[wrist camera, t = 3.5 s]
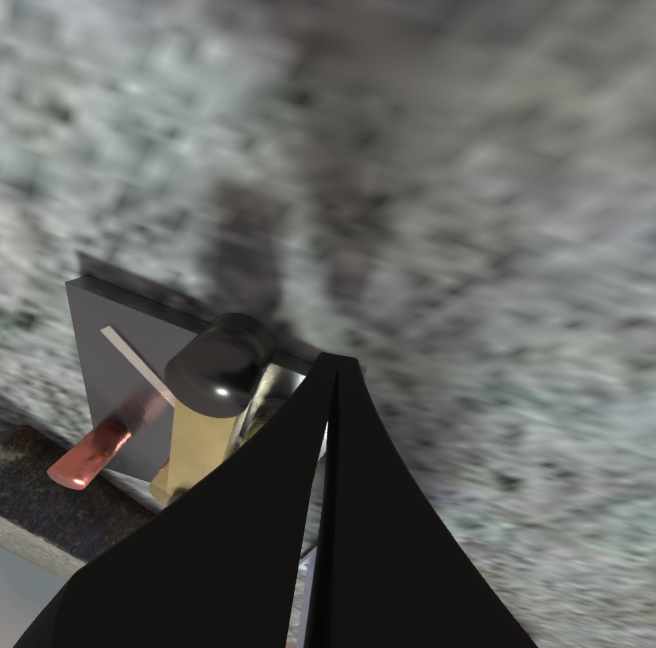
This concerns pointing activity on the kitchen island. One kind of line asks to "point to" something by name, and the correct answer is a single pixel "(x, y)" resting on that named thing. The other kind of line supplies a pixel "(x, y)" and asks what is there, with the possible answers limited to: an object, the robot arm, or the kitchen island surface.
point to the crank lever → (211, 399)
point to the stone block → (57, 507)
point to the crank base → (143, 382)
